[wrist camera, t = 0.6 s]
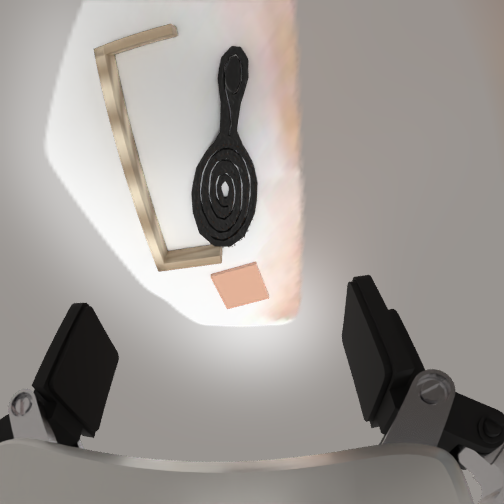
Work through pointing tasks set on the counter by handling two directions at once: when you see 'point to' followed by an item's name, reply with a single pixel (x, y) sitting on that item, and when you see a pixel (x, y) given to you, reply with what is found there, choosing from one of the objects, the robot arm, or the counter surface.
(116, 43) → the u-shaped wooden frame
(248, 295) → the terracotta tile
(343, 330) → the robot arm
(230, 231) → the hairbrush
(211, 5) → the counter surface
